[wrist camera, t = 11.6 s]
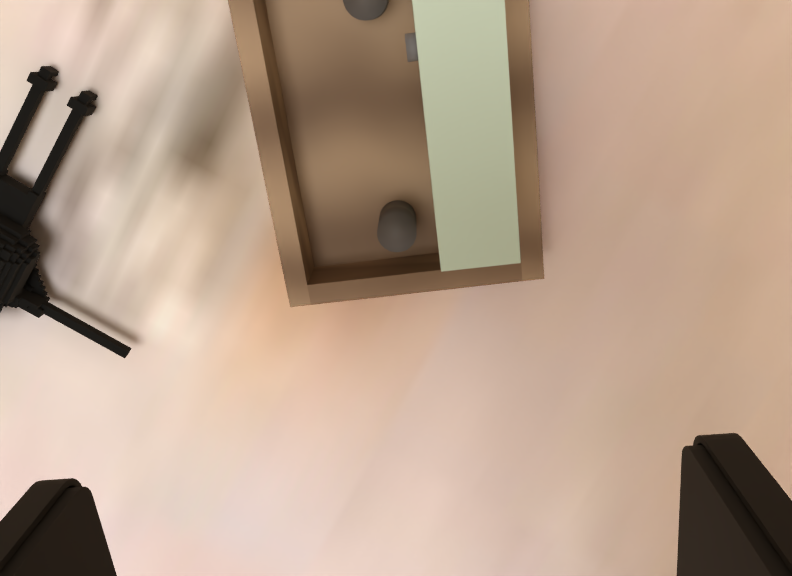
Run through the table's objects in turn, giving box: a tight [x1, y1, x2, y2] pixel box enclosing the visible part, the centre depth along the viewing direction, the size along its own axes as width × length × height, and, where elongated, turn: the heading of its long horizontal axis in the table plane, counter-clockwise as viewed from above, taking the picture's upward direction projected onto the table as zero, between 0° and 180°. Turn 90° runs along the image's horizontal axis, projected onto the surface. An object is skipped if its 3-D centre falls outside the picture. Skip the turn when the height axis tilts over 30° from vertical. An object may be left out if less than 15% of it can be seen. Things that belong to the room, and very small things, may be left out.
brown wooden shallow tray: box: [228, 0, 544, 307], centre depth 31 cm, size 16×12×4 cm
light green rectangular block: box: [405, 0, 521, 272], centre depth 28 cm, size 10×3×8 cm, turn 7°
